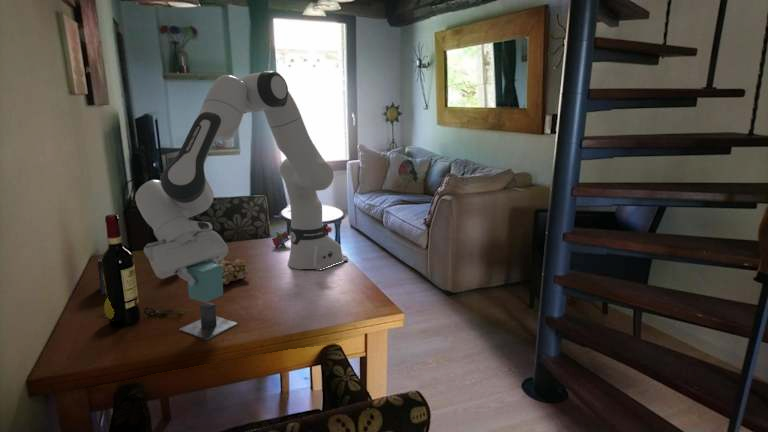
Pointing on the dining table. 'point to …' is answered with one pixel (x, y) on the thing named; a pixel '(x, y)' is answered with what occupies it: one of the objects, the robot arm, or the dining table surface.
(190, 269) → the tall teal block
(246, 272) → the mineral formation
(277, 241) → the geometric puzzle
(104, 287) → the box
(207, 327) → the post
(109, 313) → the lemon
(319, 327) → the dining table surface
